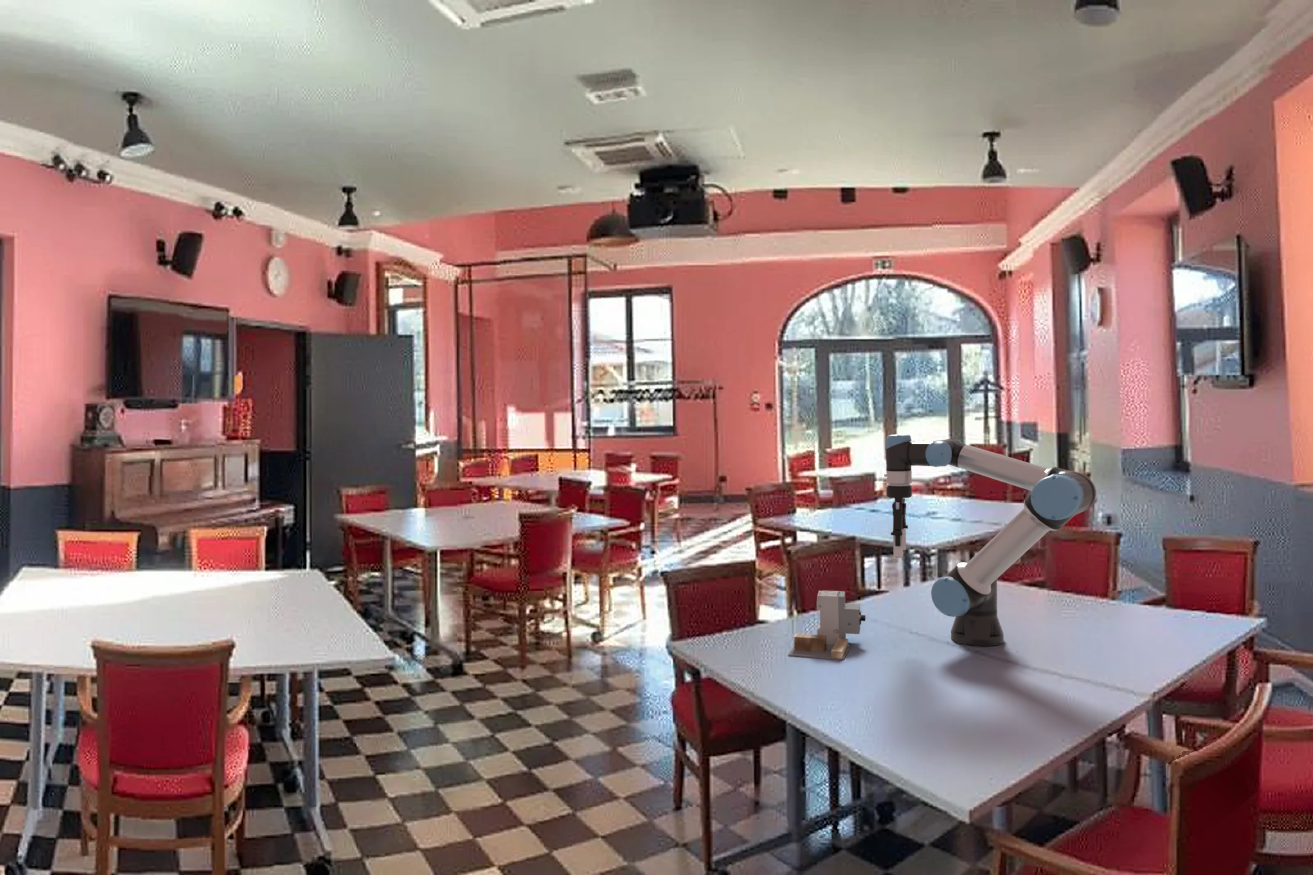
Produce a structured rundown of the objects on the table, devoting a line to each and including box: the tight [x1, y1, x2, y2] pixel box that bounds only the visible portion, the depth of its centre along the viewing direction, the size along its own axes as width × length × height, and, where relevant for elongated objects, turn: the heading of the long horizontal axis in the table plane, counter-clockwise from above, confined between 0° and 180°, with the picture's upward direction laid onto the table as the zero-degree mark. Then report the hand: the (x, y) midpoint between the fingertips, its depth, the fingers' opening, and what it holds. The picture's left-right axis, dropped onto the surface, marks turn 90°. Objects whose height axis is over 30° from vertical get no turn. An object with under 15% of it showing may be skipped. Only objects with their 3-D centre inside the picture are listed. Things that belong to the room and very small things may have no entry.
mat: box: [787, 644, 851, 661], centre depth 250 cm, size 16×14×1 cm
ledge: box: [831, 638, 849, 659], centre depth 248 cm, size 3×14×2 cm, turn 160°
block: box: [793, 632, 826, 652], centre depth 251 cm, size 4×4×9 cm
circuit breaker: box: [816, 590, 867, 645], centre depth 259 cm, size 8×14×15 cm, turn 75°
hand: (900, 553), depth 260 cm, fingers open, 13 cm apart
